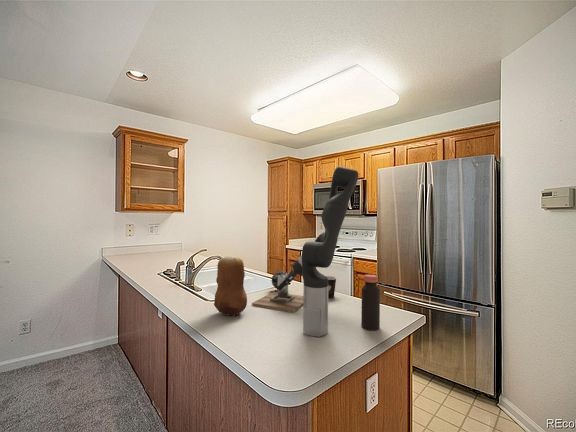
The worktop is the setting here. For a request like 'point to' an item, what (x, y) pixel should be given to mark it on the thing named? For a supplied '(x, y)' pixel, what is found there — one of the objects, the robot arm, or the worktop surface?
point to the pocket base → (280, 302)
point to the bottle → (370, 303)
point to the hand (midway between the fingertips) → (279, 287)
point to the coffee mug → (331, 286)
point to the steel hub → (284, 291)
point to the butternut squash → (230, 286)
